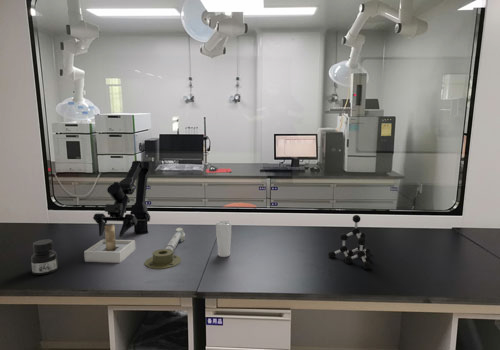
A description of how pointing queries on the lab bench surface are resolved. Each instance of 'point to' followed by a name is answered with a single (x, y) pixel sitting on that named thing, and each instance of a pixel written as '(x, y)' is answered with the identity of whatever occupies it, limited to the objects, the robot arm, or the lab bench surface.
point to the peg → (110, 237)
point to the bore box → (101, 255)
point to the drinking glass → (223, 237)
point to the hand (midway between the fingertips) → (110, 236)
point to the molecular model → (362, 249)
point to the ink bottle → (44, 257)
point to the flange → (162, 259)
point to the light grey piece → (176, 239)
